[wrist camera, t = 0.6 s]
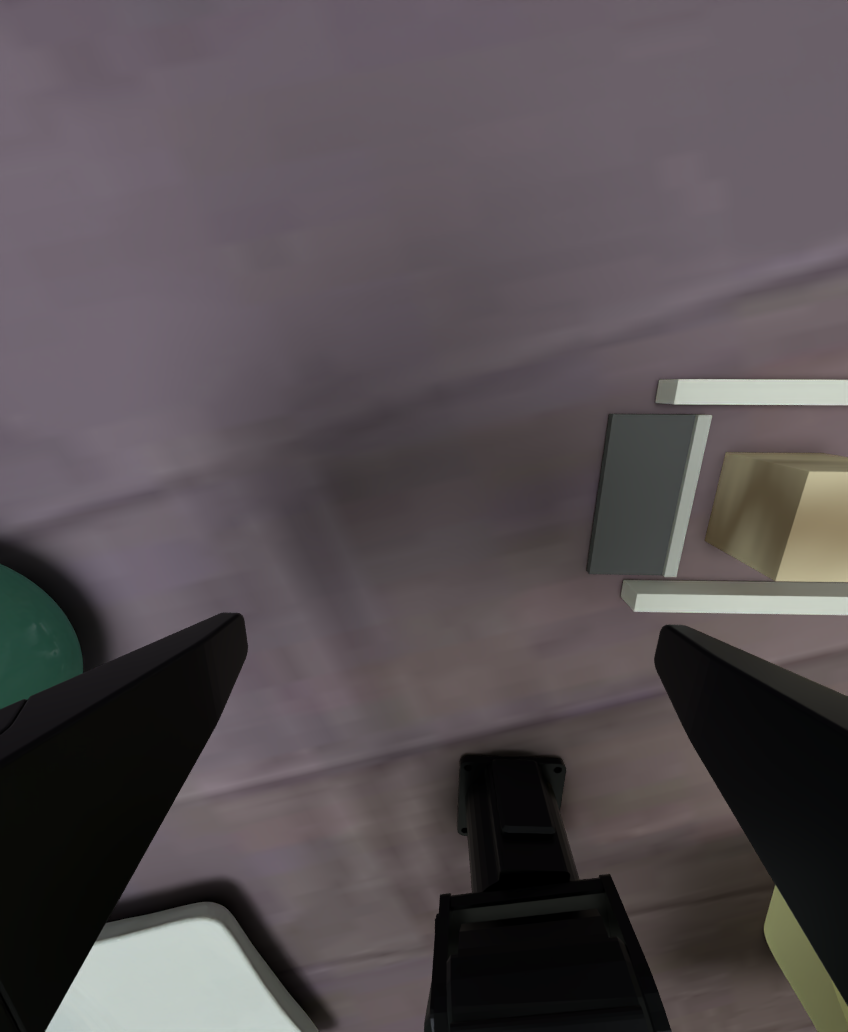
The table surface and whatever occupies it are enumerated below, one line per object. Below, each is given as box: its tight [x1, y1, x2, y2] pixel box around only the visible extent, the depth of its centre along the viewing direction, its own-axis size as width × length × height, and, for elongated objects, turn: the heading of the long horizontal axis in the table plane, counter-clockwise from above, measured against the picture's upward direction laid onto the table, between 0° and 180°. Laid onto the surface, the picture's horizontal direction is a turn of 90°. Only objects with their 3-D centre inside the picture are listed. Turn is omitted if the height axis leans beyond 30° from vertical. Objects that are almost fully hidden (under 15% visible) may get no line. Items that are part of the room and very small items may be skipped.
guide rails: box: [621, 379, 848, 615], centre depth 19 cm, size 11×16×2 cm
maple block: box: [705, 452, 848, 582], centre depth 18 cm, size 4×4×4 cm
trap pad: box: [587, 414, 712, 577], centre depth 19 cm, size 8×4×1 cm, turn 0°
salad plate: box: [45, 902, 319, 1032], centre depth 32 cm, size 21×21×3 cm
